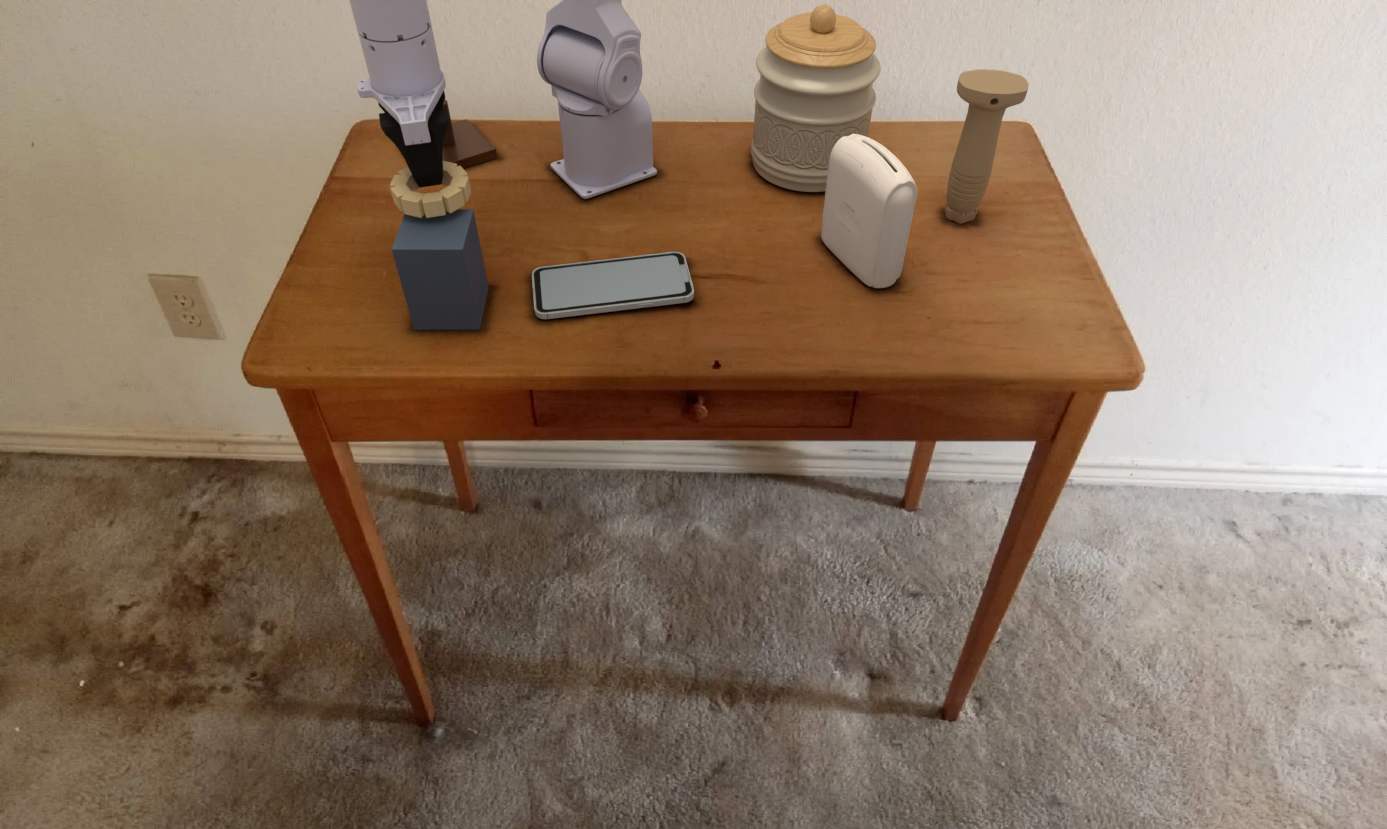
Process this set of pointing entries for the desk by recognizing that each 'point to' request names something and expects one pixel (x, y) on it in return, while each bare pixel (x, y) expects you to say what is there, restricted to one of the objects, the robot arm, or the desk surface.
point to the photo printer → (868, 209)
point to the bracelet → (435, 201)
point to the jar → (811, 96)
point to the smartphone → (611, 285)
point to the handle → (979, 137)
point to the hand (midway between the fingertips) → (429, 176)
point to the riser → (442, 270)
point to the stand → (465, 144)
